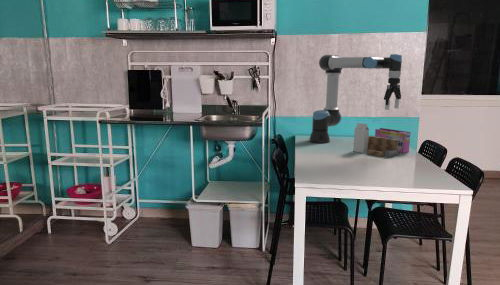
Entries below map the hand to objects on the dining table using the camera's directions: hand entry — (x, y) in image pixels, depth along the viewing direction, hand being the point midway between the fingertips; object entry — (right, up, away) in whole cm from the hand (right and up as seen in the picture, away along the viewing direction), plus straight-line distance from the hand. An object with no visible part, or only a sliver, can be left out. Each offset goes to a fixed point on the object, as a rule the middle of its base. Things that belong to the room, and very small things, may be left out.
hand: (391, 109), depth 268 cm
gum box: (+1, -28, +4) cm, 28 cm away
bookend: (-7, -32, -17) cm, 37 cm away
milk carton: (-23, -29, -4) cm, 37 cm away
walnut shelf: (-14, -30, -9) cm, 35 cm away
